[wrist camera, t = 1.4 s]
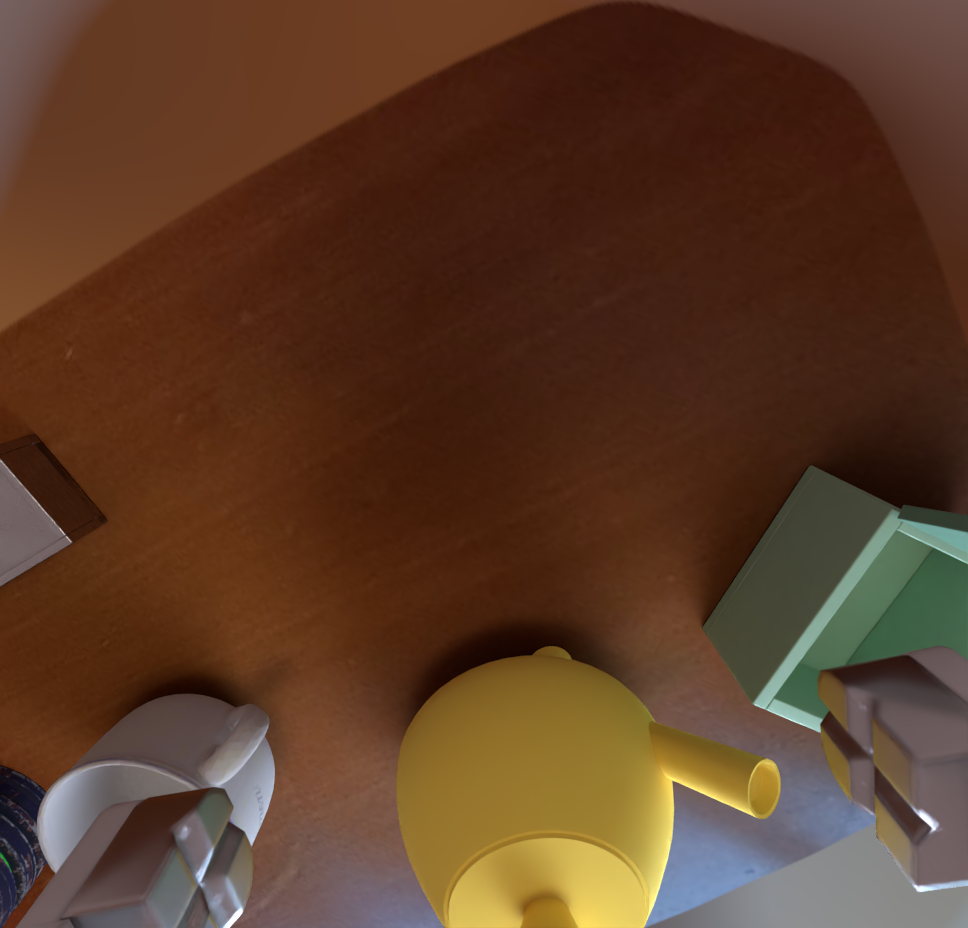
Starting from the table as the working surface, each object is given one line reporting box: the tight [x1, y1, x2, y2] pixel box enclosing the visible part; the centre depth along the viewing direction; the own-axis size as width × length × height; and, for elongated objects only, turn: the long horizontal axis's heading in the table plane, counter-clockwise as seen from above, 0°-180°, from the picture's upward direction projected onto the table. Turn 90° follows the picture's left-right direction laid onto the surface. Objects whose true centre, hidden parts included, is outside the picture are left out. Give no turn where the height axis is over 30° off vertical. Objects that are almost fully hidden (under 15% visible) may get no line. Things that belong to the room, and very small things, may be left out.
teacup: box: [37, 694, 275, 874], centre depth 33 cm, size 14×11×8 cm
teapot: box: [396, 646, 781, 928], centre depth 30 cm, size 20×16×14 cm
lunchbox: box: [702, 465, 968, 732], centre depth 31 cm, size 12×10×7 cm
